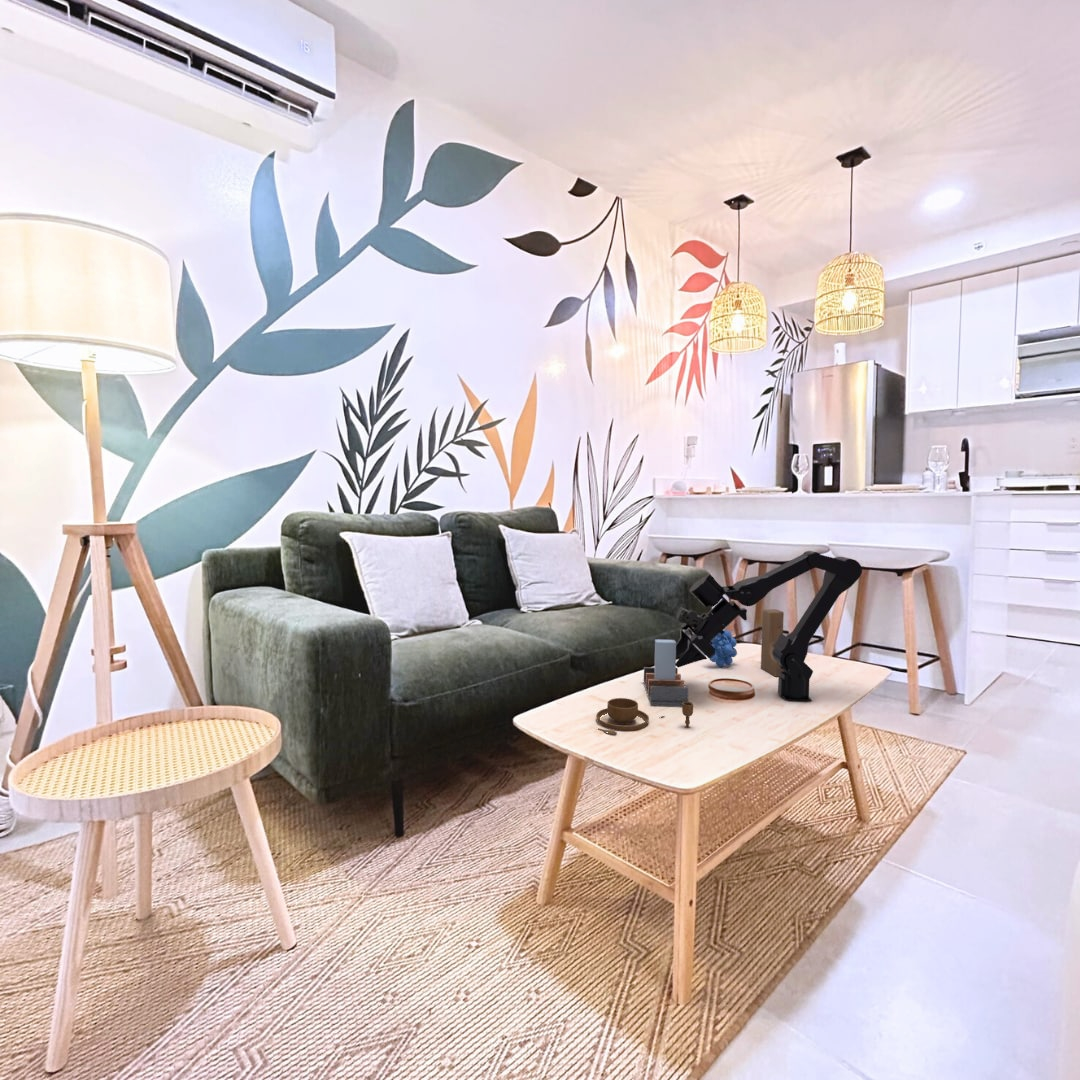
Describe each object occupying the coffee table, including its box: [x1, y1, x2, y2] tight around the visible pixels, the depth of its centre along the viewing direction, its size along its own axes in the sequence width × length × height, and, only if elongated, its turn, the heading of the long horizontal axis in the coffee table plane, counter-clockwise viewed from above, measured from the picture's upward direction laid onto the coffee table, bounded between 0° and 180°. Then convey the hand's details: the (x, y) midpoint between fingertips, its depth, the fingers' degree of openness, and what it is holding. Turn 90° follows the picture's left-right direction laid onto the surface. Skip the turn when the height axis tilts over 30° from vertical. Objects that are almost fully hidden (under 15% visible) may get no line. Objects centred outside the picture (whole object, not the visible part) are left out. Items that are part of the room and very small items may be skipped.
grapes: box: [709, 629, 738, 668], centre depth 182 cm, size 12×7×12 cm, turn 115°
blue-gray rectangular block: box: [654, 639, 677, 680], centre depth 157 cm, size 5×3×13 cm, turn 87°
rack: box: [642, 666, 689, 708], centre depth 158 cm, size 9×19×4 cm, turn 176°
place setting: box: [595, 697, 694, 736], centre depth 136 cm, size 18×20×6 cm
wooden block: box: [760, 608, 784, 678], centre depth 176 cm, size 9×4×18 cm, turn 8°
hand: (673, 661), depth 157 cm, fingers open, 9 cm apart
